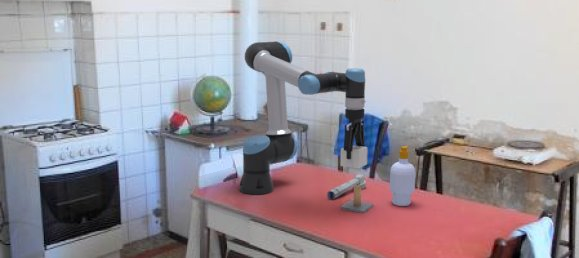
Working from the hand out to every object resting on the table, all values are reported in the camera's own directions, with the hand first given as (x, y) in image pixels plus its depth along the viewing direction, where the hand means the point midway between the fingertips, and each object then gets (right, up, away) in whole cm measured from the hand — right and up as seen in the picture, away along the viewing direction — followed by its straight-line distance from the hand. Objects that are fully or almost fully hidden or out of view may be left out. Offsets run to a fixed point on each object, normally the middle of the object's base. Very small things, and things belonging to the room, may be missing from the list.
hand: (354, 164), depth 238 cm
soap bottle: (+21, -17, +9) cm, 28 cm away
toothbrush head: (0, -14, +24) cm, 28 cm away
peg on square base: (+2, -18, +4) cm, 18 cm away
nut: (0, 0, 0) cm, 0 cm away
